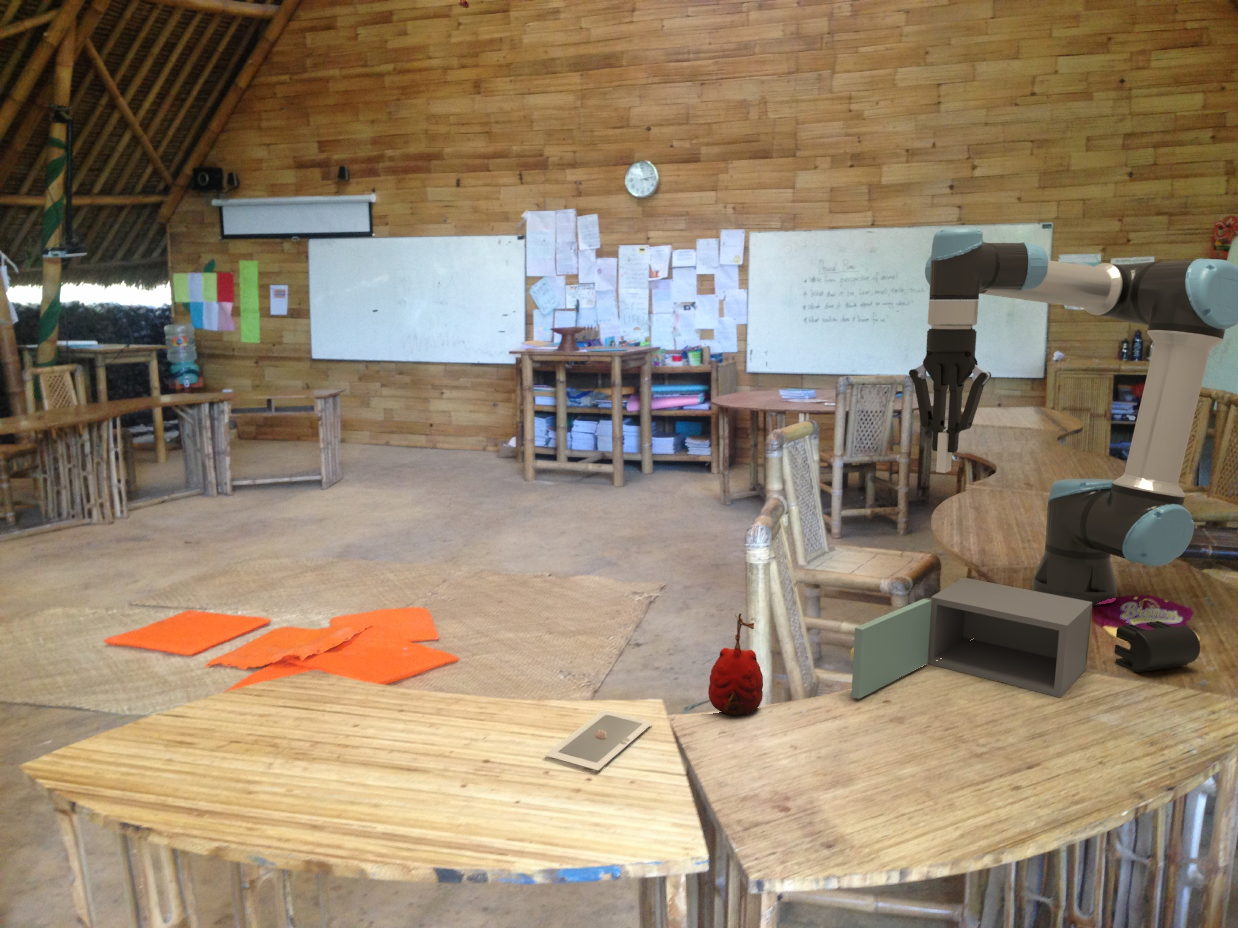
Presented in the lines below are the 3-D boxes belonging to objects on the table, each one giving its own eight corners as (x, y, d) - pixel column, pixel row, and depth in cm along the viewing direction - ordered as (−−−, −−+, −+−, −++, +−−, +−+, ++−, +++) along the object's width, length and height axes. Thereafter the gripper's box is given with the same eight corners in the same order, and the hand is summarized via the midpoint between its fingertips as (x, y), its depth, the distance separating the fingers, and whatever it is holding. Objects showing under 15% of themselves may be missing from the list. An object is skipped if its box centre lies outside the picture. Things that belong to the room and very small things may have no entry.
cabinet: (958, 639, 159) (963, 577, 157) (1086, 669, 146) (1092, 601, 144) (926, 663, 148) (930, 596, 146) (1060, 697, 135) (1067, 625, 133)
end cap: (1147, 680, 142) (1152, 637, 141) (1110, 663, 149) (1115, 622, 148) (1198, 672, 145) (1203, 631, 144) (1160, 656, 152) (1164, 616, 151)
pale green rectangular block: (929, 662, 147) (933, 599, 145) (858, 698, 133) (862, 629, 132) (914, 657, 149) (918, 595, 147) (843, 693, 135) (846, 624, 133)
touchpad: (543, 762, 116) (543, 746, 116) (603, 716, 129) (603, 702, 129) (598, 778, 113) (598, 761, 112) (653, 729, 126) (653, 714, 125)
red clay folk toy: (761, 700, 134) (765, 600, 132) (763, 721, 127) (766, 616, 125) (708, 697, 135) (710, 597, 132) (707, 718, 128) (709, 614, 126)
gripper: (1001, 327, 149) (991, 472, 153) (921, 326, 157) (914, 463, 161) (985, 328, 143) (975, 479, 147) (903, 327, 151) (896, 470, 155)
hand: (943, 471), depth 154 cm, fingers closed
